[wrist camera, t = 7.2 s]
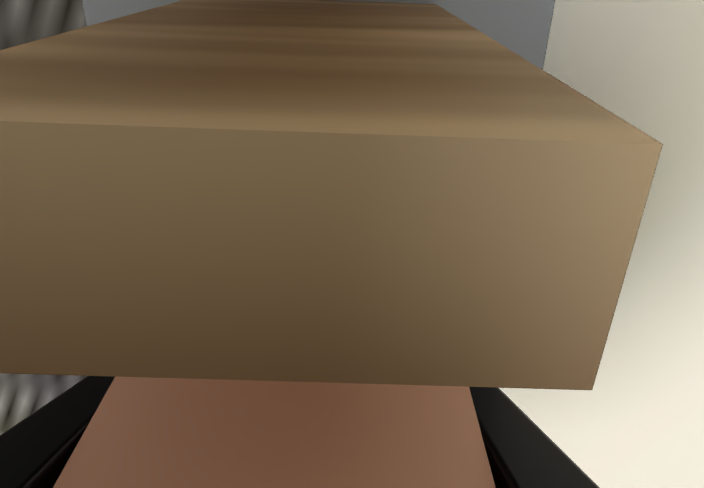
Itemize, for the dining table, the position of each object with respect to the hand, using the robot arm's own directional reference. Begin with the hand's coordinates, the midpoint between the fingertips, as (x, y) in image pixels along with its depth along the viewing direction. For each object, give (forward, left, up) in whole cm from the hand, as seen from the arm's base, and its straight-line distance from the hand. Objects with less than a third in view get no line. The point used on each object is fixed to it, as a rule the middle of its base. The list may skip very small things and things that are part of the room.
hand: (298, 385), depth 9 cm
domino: (+2, -4, -6) cm, 7 cm away
